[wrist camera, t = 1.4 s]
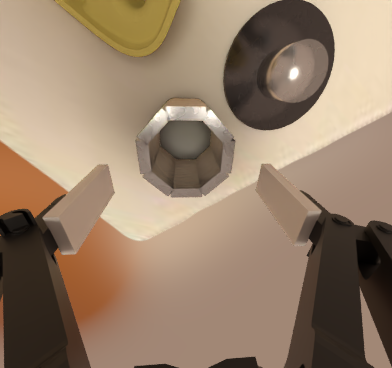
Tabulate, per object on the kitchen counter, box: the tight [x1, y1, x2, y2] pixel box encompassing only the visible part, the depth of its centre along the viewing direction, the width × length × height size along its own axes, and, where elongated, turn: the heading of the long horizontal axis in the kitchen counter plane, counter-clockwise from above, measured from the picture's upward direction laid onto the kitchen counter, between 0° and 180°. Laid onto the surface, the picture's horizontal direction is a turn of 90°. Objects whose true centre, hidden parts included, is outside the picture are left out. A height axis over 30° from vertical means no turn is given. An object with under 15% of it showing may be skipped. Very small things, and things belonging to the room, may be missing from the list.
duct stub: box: [224, 0, 335, 130], centre depth 21 cm, size 14×14×6 cm
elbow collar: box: [136, 98, 235, 197], centre depth 22 cm, size 10×10×9 cm
